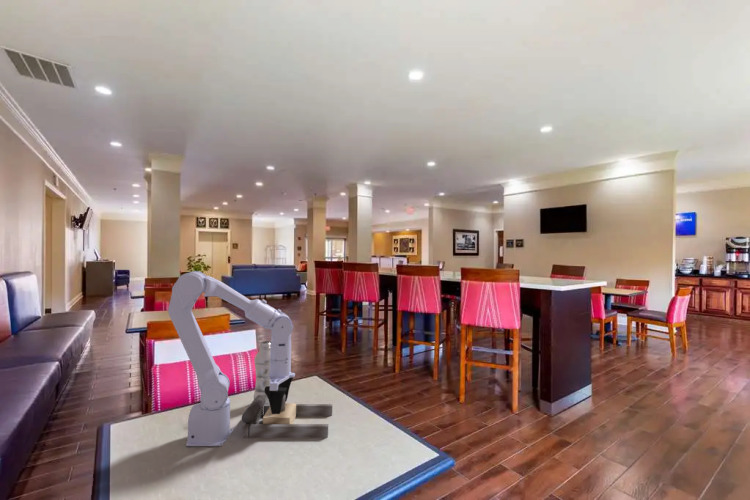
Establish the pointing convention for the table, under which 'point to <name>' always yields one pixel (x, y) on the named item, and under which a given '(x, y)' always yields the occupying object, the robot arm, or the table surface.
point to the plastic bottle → (262, 369)
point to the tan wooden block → (281, 414)
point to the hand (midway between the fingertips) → (279, 407)
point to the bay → (284, 430)
